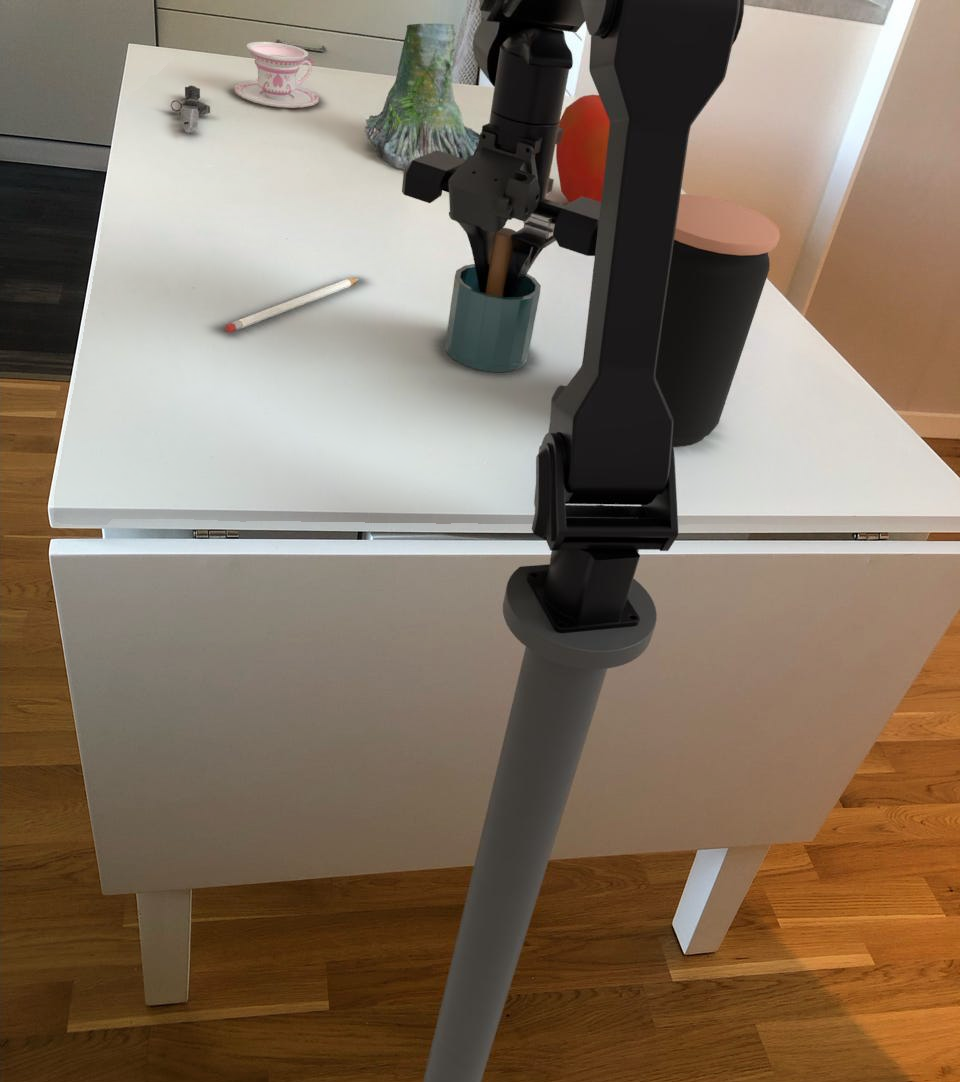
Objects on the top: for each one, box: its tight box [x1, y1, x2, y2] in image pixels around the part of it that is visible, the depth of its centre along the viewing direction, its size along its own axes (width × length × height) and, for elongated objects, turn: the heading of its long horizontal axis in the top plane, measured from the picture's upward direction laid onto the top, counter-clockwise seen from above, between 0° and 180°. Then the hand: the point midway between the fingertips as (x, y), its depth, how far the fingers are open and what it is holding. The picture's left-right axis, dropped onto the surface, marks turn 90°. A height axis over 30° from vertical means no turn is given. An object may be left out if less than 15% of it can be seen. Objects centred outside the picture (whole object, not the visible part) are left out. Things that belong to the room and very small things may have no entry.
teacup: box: [233, 41, 320, 109], centre depth 153 cm, size 12×12×6 cm
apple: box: [555, 94, 610, 204], centre depth 133 cm, size 12×12×14 cm
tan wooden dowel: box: [485, 227, 517, 297], centre depth 97 cm, size 2×2×8 cm
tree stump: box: [364, 22, 480, 171], centre depth 141 cm, size 18×20×18 cm
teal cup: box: [445, 263, 542, 373], centre depth 99 cm, size 8×8×7 cm
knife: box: [170, 85, 211, 134], centre depth 140 cm, size 19×2×5 cm
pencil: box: [224, 278, 360, 334], centre depth 103 cm, size 1×19×1 cm, turn 146°
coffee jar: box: [655, 193, 781, 447], centre depth 91 cm, size 11×11×18 cm
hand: (495, 296), depth 98 cm, fingers closed on tan wooden dowel, 2 cm apart
